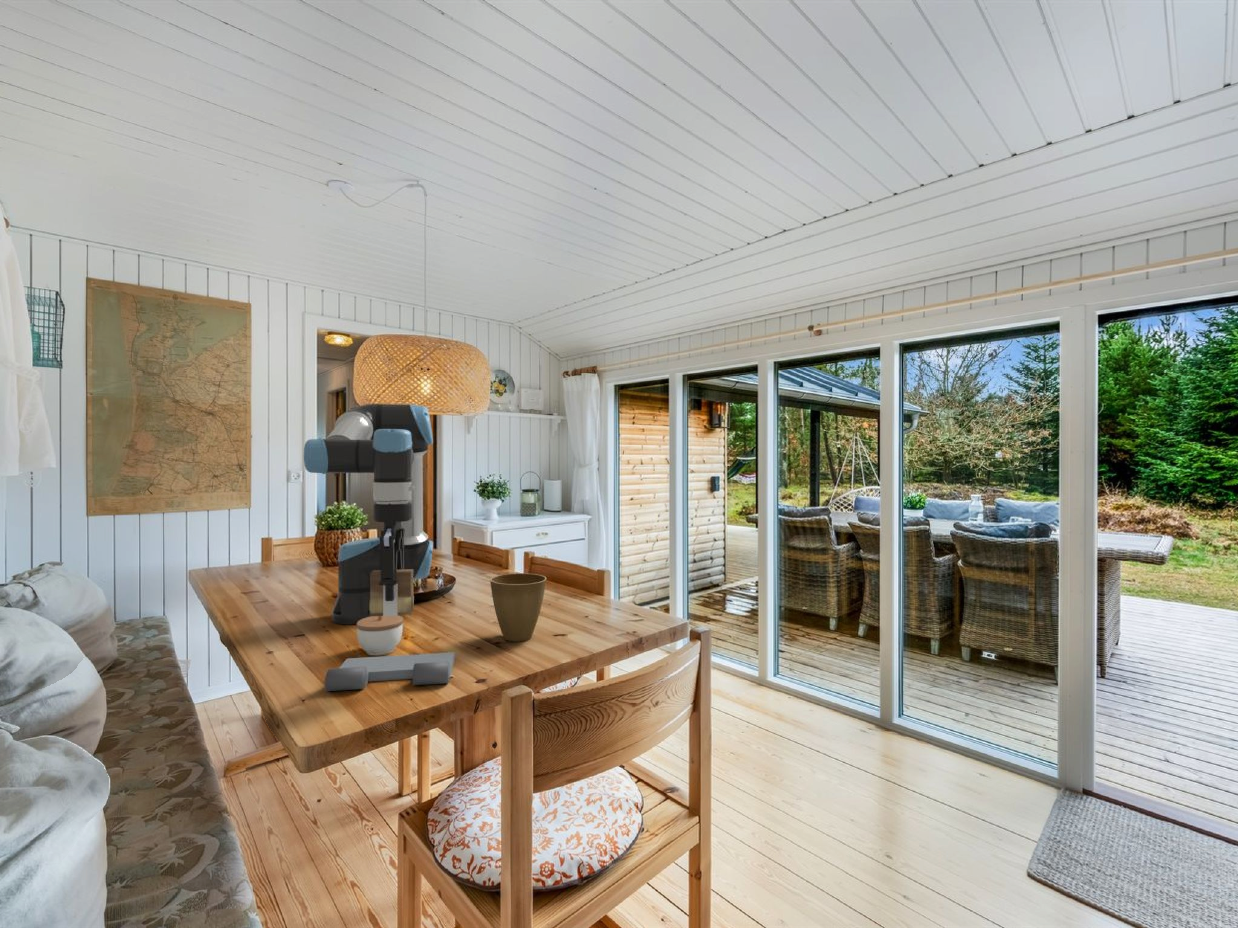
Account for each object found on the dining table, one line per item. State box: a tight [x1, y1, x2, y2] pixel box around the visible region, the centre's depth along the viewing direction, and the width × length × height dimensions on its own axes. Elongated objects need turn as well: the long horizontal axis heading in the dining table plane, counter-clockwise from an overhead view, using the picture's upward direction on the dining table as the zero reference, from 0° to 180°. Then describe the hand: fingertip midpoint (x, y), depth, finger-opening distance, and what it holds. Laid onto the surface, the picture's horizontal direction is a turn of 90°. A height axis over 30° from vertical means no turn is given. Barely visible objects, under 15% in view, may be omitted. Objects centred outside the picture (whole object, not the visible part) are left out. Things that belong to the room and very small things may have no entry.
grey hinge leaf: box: [324, 651, 456, 692], centre depth 123 cm, size 15×24×4 cm, turn 101°
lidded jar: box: [356, 615, 404, 656], centre depth 139 cm, size 11×11×9 cm
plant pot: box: [489, 572, 547, 642], centre depth 150 cm, size 15×15×16 cm
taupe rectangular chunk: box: [369, 569, 415, 616], centre depth 118 cm, size 4×8×9 cm, turn 101°
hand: (392, 611), depth 118 cm, fingers closed on taupe rectangular chunk, 4 cm apart
